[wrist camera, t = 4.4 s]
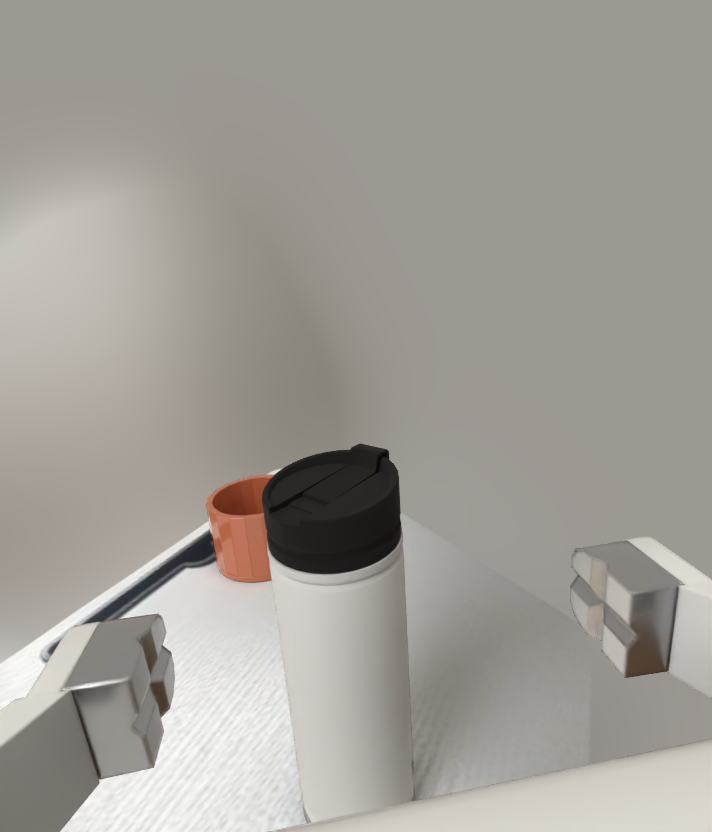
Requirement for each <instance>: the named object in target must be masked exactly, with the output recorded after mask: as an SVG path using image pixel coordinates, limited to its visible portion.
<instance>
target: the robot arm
mask: <svg viewBox="0 0 712 832" xmlns="http://www.w3.org/2000/svg"><path fill="white" fill-rule="evenodd" d="M571 563H572V564H571V567H572V569H573V570H574V571H575V572H576V573H577V575H578V576H577V577H576V579H575V580H574V582H573V583H572V584H571V586H570V602H571V606H572V609H573V613H574V616H575V617H576V619H577V621H578V623H579V625H580V626H581V627H582V628H583V630H584V631H585V632H586V633H587V634H588V635H590V636H592V637H594V638H596V639H598V640H600V641H602V649H601V651H602V652H603V654H604V655H605V656H606V657H607V658H608V659H609V661H610V662H611V663H612V664H613V665H614V666H615V668H616V669H617V670H618V671H619V672H620V673H621V675H622V676H623V677H624V678H628V677H634V676H640V675H646V674H653V673H659V672H666V671H669V672H668V673H669V674H670V675H672V676H674V677H675V678H677V679H679V680H681V681H682V682H684V683H686V684H687V685H689V686H691V687H692V688H694V689H696V690H698V691H699V692H701V693H703V694H705V695H706V696H708V697H710V698H711V699H712V580H711V579H710V578H709V577H707V576H706V575H704V574H703V573H701V572H700V571H699V570H697V569H696V568H694V567H693V566H691V565H690V564H689V563H687V562H686V561H684V560H683V559H682V558H680V557H679V556H677V555H676V554H675V553H673V552H672V551H670V550H669V549H667V548H666V547H665V546H663V545H662V544H660V543H659V542H657V541H656V540H655V539H653V538H651V537H647V536H641V537H636V538H631V539H626V540H621V541H619V542H613V543H607V544H601V545H595V546H589V547H583V548H577V549H575V550H574V553H573V555H572V562H571ZM165 635H166V629H165V625H164V622H163V618H162V617H161V616H160V615H159V614H153V615H145V616H138V617H131V618H123V619H116V620H108V621H103V622H95V623H88V624H82V625H76V626H73V627H72V628H70V629H68V630H67V632H66V633H65V635H64V637H63V638H62V640H61V641H60V643H59V645H58V646H57V648H56V649H55V651H54V653H53V654H52V656H51V657H50V659H49V661H48V662H47V664H46V665H45V667H44V669H43V670H42V672H41V673H40V675H39V677H38V678H37V680H36V682H35V683H34V685H33V686H32V688H31V690H30V691H29V693H28V694H27V696H26V697H25V698H20V699H15V700H14V701H13V702H11V703H10V704H9V705H7V706H6V707H5V708H3V709H2V710H1V711H0V832H60V831H61V830H62V828H63V827H64V826H65V825H66V823H67V822H68V821H69V820H70V819H71V817H72V816H73V815H74V814H75V812H76V811H77V810H78V809H79V808H80V806H81V805H82V804H83V803H84V801H85V800H86V799H87V798H88V796H89V795H90V794H91V793H92V792H93V790H94V789H95V788H96V787H97V785H98V784H99V780H100V779H104V778H109V777H113V776H118V775H122V774H127V773H131V772H136V771H141V770H145V769H150V768H154V765H155V761H156V758H157V754H158V751H159V747H160V743H161V740H162V736H163V732H164V730H163V725H162V721H161V717H162V716H163V715H164V714H165V713H166V712H167V711H168V710H169V709H170V706H171V702H172V698H173V693H174V679H175V675H174V663H173V659H172V654H171V652H170V651H169V650H167V649H166V648H165V647H164V646H162V644H163V641H164V638H165ZM269 832H712V739H708V740H703V741H699V742H693V743H689V744H684V745H679V746H674V747H670V748H665V749H660V750H655V751H650V752H646V753H641V754H636V755H631V756H627V757H622V758H617V759H612V760H608V761H603V762H598V763H593V764H588V765H584V766H579V767H574V768H569V769H564V770H560V771H555V772H550V773H545V774H540V775H536V776H531V777H526V778H521V779H516V780H512V781H507V782H502V783H497V784H493V785H488V786H483V787H478V788H473V789H469V790H464V791H459V792H454V793H449V794H445V795H440V796H435V797H430V798H425V799H421V800H416V801H411V802H406V803H401V804H397V805H392V806H387V807H382V808H378V809H373V810H368V811H363V812H359V813H354V814H349V815H344V816H340V817H335V818H330V819H326V820H321V821H316V822H311V823H307V824H302V825H297V826H292V827H288V828H283V829H278V830H273V831H269Z"/></svg>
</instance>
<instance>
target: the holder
mask: <svg viewBox="0 0 712 832" xmlns="http://www.w3.org/2000/svg"><path fill="white" fill-rule="evenodd" d="M273 476H274V475H260V476H252V477H247V478H243V479H239V480H236V481H233V482H231V483H228V484H226V485H224V486H222V487H220V488H218V489H217V490H215V491H214V492H213V493H212V494H211V495H210V496H209V497H208V500H207V503H206V507H207V513H208V519H209V525H210V530H211V536H212V541H213V547H214V553H215V558H216V562H217V566H218V569H219V571H220V572H221V573H222V574H223V575H224V576H226V577H227V578H229V579H232V580H235V581H240V582H262V581H268V580H272V579H271V572H270V562H269V556H268V550H267V530H266V527H265V519H264V512H263V504H262V493H263V490H264V487H265V486H266V484H267V483H268V481H269V480H270V479H271V478H272V477H273Z"/></svg>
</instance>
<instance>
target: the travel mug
mask: <svg viewBox="0 0 712 832" xmlns="http://www.w3.org/2000/svg"><path fill="white" fill-rule="evenodd" d="M262 504H263V512H264V519H265V527H266V530H267V550H268V556H269V562H270V572H271V579H272V586H273V593H274V601H275V608H276V615H277V622H278V629H279V636H280V644H281V651H282V658H283V665H284V672H285V680H286V687H287V694H288V701H289V708H290V716H291V723H292V730H293V737H294V744H295V751H296V759H297V766H298V773H299V780H300V787H301V793H302V802H303V809H304V814H305V818H306V821H307V823H311V822H316V821H321V820H326V819H330V818H335V817H340V816H344V815H349V814H354V813H359V812H363V811H368V810H373V809H378V808H382V807H387V806H392V805H397V804H401V803H406V802H411V801H414V798H415V793H414V776H413V775H414V771H413V749H412V727H411V705H410V684H409V662H408V640H407V618H406V597H405V575H404V553H403V545H402V543H403V534H402V528H401V521H400V495H399V476H398V470H397V469H396V467H395V465H394V464H393V463H392V462H391V461H390V460H389V451H388V450H387V449H382V448H377V447H373V446H369V445H364V444H358V445H356V446H354V447H352V448H351V450H338V451H331V452H325V453H321V454H316V455H312V456H309V457H306V458H303V459H301V460H298V461H296V462H294V463H292V464H290V465H288V466H286V467H285V468H283V469H282V470H280V471H279V472H278V473H276V474H275V475H274V476H273V477H272V478H271V479H270V480H269V481H268V483H267V484H266V486H265V487H264V490H263V493H262Z"/></svg>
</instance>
